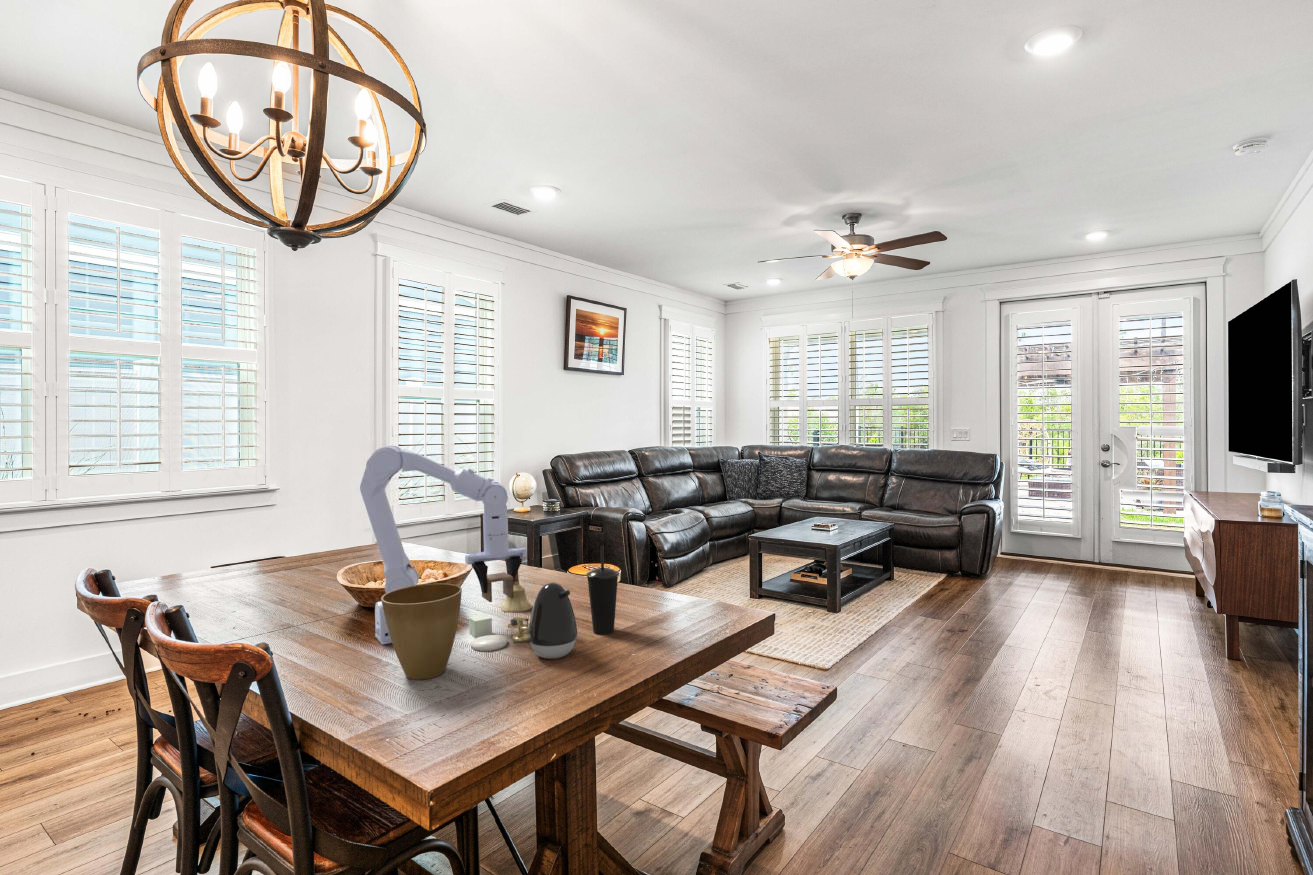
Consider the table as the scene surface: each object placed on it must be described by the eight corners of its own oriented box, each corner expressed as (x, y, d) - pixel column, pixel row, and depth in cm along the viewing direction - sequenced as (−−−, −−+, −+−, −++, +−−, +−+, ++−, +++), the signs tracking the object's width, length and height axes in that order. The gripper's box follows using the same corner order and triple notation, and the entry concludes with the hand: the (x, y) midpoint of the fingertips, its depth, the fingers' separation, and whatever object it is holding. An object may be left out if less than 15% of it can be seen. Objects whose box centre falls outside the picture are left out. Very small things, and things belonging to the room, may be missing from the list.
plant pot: (437, 653, 139) (435, 579, 139) (478, 669, 130) (477, 590, 129) (368, 675, 128) (366, 594, 127) (409, 695, 118) (407, 607, 118)
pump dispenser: (551, 667, 130) (549, 591, 130) (518, 655, 137) (517, 584, 137) (588, 653, 138) (587, 581, 138) (556, 642, 145) (554, 574, 145)
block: (475, 638, 149) (474, 621, 149) (469, 634, 152) (469, 617, 152) (492, 635, 151) (491, 618, 151) (486, 630, 155) (485, 613, 154)
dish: (478, 653, 139) (477, 648, 139) (466, 643, 145) (466, 639, 145) (512, 646, 143) (511, 641, 143) (499, 637, 149) (499, 632, 149)
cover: (489, 602, 152) (489, 580, 152) (481, 596, 157) (481, 575, 157) (513, 598, 155) (513, 576, 155) (505, 592, 160) (504, 572, 160)
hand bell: (514, 614, 167) (513, 552, 167) (493, 609, 172) (492, 549, 172) (539, 606, 174) (537, 547, 173) (518, 602, 179) (516, 544, 178)
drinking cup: (615, 637, 148) (613, 549, 147) (582, 635, 149) (581, 548, 149) (623, 626, 155) (622, 543, 155) (592, 625, 157) (591, 542, 156)
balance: (522, 648, 142) (522, 621, 142) (504, 635, 151) (503, 610, 151) (538, 644, 144) (537, 618, 144) (519, 632, 153) (518, 607, 153)
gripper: (471, 539, 149) (472, 598, 149) (530, 532, 157) (532, 588, 157) (461, 535, 154) (463, 592, 155) (519, 528, 162) (521, 582, 163)
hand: (497, 590), depth 156 cm, fingers closed on cover, 6 cm apart
